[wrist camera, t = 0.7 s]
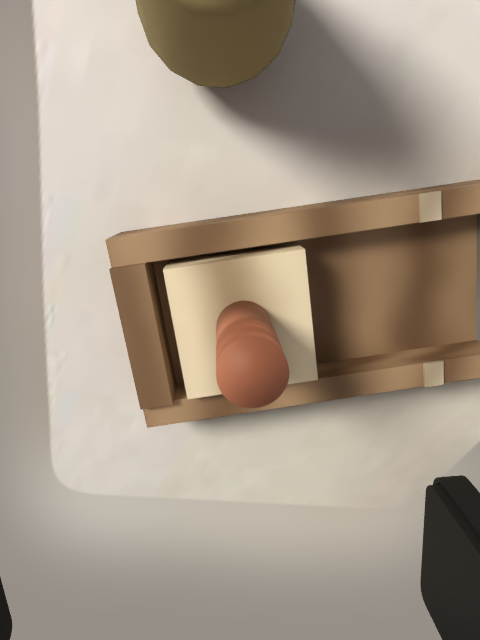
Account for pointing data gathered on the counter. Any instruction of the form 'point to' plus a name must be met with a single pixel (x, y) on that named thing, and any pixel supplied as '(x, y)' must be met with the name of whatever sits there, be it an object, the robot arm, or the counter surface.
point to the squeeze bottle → (216, 36)
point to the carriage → (243, 323)
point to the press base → (325, 295)
